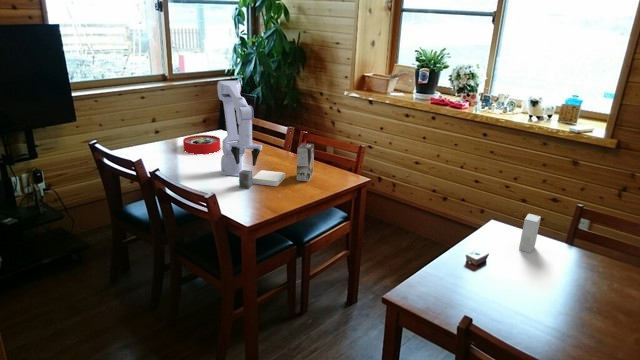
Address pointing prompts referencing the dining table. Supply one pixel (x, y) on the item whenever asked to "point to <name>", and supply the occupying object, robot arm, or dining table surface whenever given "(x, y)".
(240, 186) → the block
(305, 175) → the coffee box
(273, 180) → the plinth
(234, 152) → the robot arm
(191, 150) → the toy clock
